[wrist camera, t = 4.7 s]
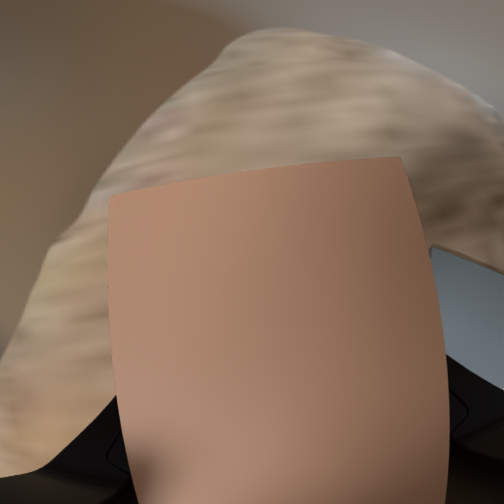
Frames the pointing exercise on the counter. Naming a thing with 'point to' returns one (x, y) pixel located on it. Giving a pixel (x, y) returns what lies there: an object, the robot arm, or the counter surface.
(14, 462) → the counter surface
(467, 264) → the mat
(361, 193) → the tall peach block
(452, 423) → the robot arm
